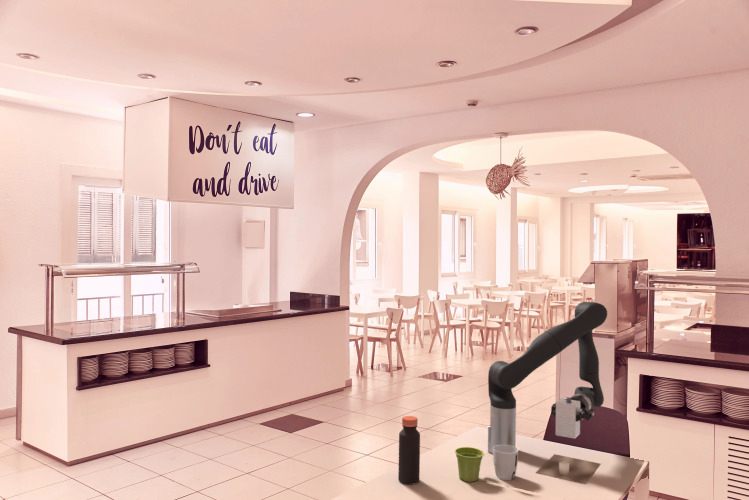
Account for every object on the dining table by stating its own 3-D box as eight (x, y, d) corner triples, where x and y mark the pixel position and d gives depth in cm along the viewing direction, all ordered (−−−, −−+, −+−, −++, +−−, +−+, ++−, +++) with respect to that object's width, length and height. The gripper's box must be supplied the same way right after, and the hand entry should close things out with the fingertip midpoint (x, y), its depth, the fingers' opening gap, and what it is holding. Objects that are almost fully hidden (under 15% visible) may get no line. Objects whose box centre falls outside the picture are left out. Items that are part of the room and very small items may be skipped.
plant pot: (484, 474, 188) (484, 448, 189) (483, 485, 179) (483, 458, 179) (455, 471, 191) (456, 445, 191) (453, 482, 181) (453, 455, 181)
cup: (518, 485, 180) (519, 454, 180) (492, 483, 181) (492, 451, 181) (517, 476, 188) (517, 445, 188) (492, 473, 189) (492, 443, 189)
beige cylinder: (557, 474, 187) (557, 463, 187) (560, 471, 190) (560, 460, 190) (567, 476, 186) (567, 465, 186) (570, 473, 188) (570, 462, 188)
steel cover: (555, 435, 190) (555, 398, 190) (560, 430, 196) (561, 394, 196) (575, 438, 187) (575, 401, 187) (579, 433, 192) (580, 397, 192)
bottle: (413, 486, 178) (414, 422, 178) (394, 481, 181) (395, 418, 181) (423, 479, 183) (424, 417, 184) (404, 474, 187) (405, 413, 187)
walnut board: (535, 475, 188) (535, 472, 188) (554, 456, 206) (554, 454, 206) (585, 487, 179) (585, 484, 179) (600, 466, 198) (600, 463, 198)
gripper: (558, 392, 207) (544, 402, 193) (599, 398, 199) (588, 408, 185) (557, 413, 207) (544, 424, 193) (599, 419, 199) (588, 431, 185)
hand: (566, 416), depth 189 cm, fingers closed on steel cover, 6 cm apart
